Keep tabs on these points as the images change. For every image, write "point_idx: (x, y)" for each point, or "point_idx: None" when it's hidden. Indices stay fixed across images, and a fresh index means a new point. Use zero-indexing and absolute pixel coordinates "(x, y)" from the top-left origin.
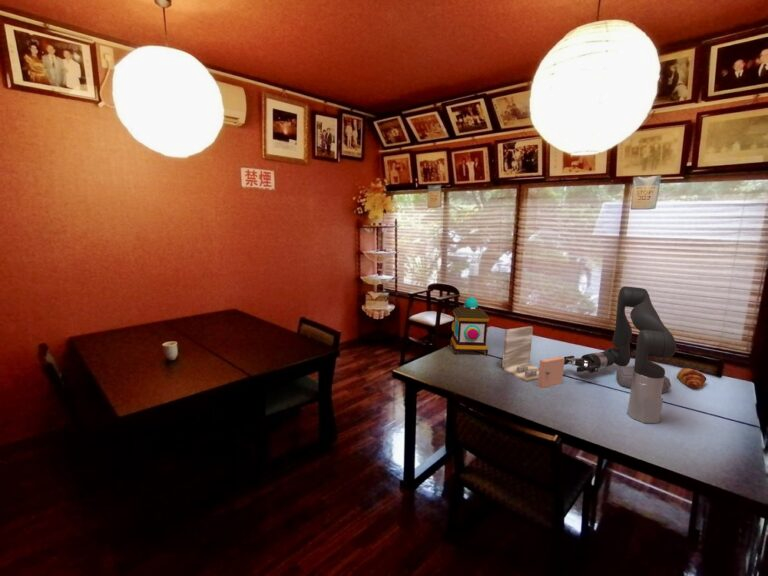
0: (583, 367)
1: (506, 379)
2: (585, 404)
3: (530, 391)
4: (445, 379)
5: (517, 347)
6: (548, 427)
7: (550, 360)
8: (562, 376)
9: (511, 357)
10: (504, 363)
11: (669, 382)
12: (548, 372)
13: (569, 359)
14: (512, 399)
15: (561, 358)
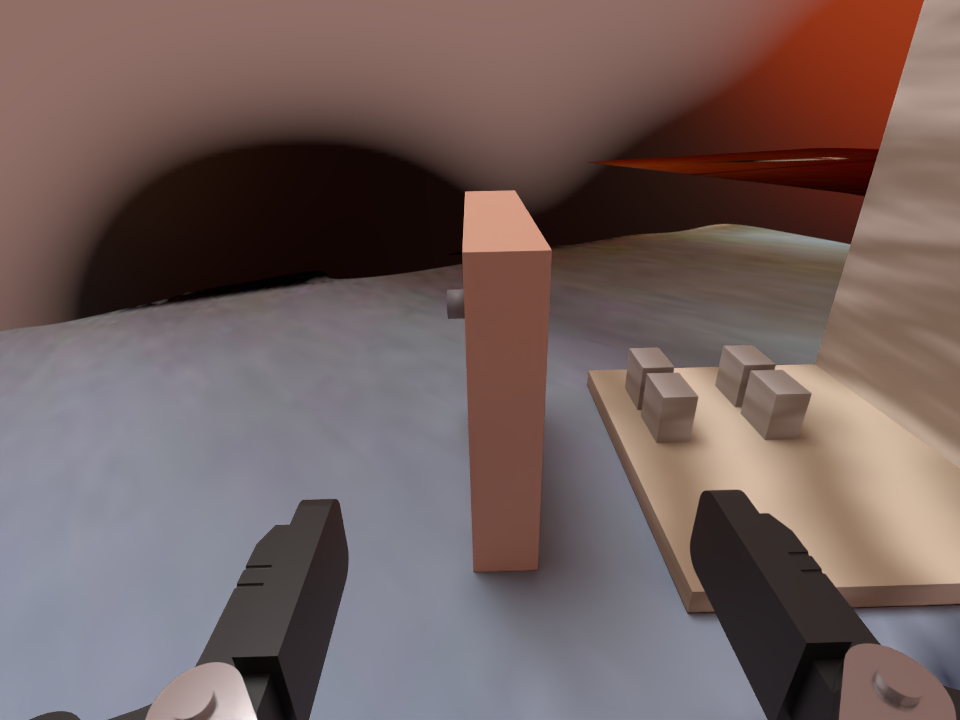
0: (248, 652)
1: (643, 342)
2: (119, 467)
3: (463, 354)
4: (661, 252)
5: None
6: (224, 294)
7: (474, 204)
8: (471, 500)
9: (888, 309)
10: (830, 328)
11: None
12: (447, 296)
13: (842, 704)
14: (436, 298)
15: (475, 240)
